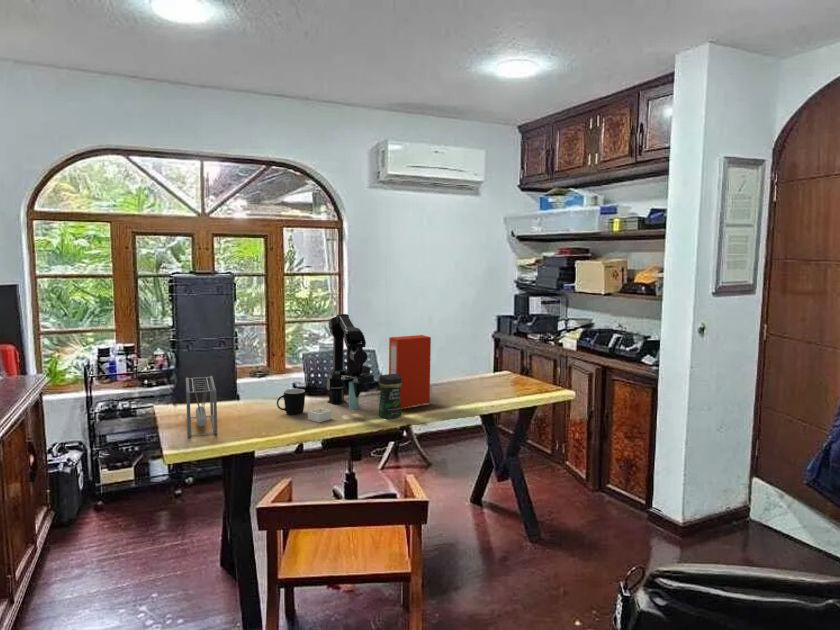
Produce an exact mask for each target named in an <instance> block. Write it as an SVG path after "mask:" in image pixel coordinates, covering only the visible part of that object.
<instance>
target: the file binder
mask: <svg viewBox="0 0 840 630" xmlns="http://www.w3.org/2000/svg"><path fill="white" fill-rule="evenodd" d="M388 339H389V342H388V343H389V345H388V346H389V347H388V350H389V351H388V374H399V375H401V378H402V379H401V380H402V385H401V388H400V400H401V408H404V407H408V406H412V405H417V404H423V403H429V402H430V401H431V399H430V398H431V397H430V396H431V391H430V390H431V351H432V350H431V349H432V348H431V347H432V346H431V344H432V341H431V336H427V335H423V334H418V335H407V336H406V335H404V336H391V337H388Z"/></svg>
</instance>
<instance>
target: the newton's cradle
mask: <svg viewBox="0 0 840 630" xmlns="http://www.w3.org/2000/svg"><path fill="white" fill-rule="evenodd" d="M208 378H209V381H208ZM196 379H197V383H198V384H197V386H199V388H201V387H203V388H201V389H202V390H197V388H196V384H195V380H196ZM198 379H202V380H198ZM203 379H205V381H204V385H203V384H199V383H202V382H203ZM190 380H191V384H192V385H191V387H192V391H190V390H191V389H190ZM198 381H202V382H198ZM214 381H215V380H214V377H213V375H210V376H201V377H185V397H186V423H187V424H186V426H187V437H188V438H191V437H196V436H206V435H216V436H217V434H218V411H217V410H218V409H217V408H218V407H217V403H218V402H217V398H218V397H217V389H216V384H215V382H214ZM200 385H203V386H200ZM192 393H193V394H195V395H194V396H195V399H196V403H197V408H196V409H195V416H192V417H191V394H192ZM197 393H203V394H202V399H201V406H200V402H199V398H198V394H197ZM208 393H209V400H210V401H209V407H210V415H207V413H206V408H205V407H206V401H207V399H206V398H207V396H208ZM209 417H210V419H211V425H212V430H213V432H208V433H198V434H192V425H191V424H192V423H191V422H192V421H191V419H196V424H197V425H198V426H199V427H205V426H206V425H207V422H208V420H207V419H208V418H209Z"/></svg>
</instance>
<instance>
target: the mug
mask: <svg viewBox="0 0 840 630" xmlns="http://www.w3.org/2000/svg"><path fill="white" fill-rule="evenodd" d="M280 399H283V402H284V408H282V407H281V406H280V404H279V403H280ZM305 400H306V391H305V389H302V388H289V389H286V390H284V391H283V395H281V396H279V397H278V398H277V400H276V405H277V409H279V410H281V411H284V412H286V414H287V415H288V416H299V415H303V412H304V409H305V402H306V401H305Z"/></svg>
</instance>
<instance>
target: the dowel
mask: <svg viewBox="0 0 840 630" xmlns="http://www.w3.org/2000/svg"><path fill="white" fill-rule="evenodd" d="M353 382H357V380H355V381H354V380H353V381H352V382H349V395H348V410H349V409H350V410H358V409H359V397H356V395H355V390H354V384H353Z"/></svg>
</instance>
